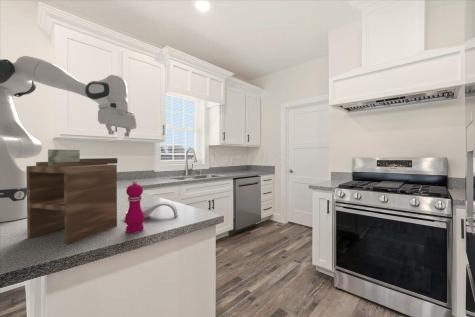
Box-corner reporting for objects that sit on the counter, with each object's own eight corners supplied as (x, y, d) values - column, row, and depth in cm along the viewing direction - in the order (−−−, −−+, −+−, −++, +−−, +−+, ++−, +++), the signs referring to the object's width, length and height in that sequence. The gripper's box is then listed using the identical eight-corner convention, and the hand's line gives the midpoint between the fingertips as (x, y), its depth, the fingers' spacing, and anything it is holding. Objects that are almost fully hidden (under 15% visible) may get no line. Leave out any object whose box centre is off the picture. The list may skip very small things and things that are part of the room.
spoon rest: (121, 222, 97) (121, 206, 97) (129, 215, 108) (129, 200, 108) (175, 220, 101) (175, 204, 101) (178, 213, 112) (178, 199, 112)
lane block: (48, 166, 78) (47, 149, 78) (110, 163, 103) (110, 150, 103) (60, 166, 76) (59, 149, 76) (120, 163, 102) (120, 150, 101)
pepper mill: (125, 234, 81) (125, 182, 81) (124, 229, 88) (123, 180, 87) (146, 231, 85) (145, 180, 85) (143, 226, 91) (143, 178, 91)
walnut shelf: (27, 237, 78) (26, 161, 77) (81, 221, 97) (80, 160, 97) (68, 244, 72) (67, 162, 72) (117, 225, 91) (116, 161, 91)
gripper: (129, 113, 119) (130, 138, 119) (94, 104, 100) (95, 133, 99) (138, 112, 117) (139, 137, 117) (105, 102, 98) (106, 132, 97)
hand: (119, 135), depth 108 cm, fingers open, 8 cm apart
